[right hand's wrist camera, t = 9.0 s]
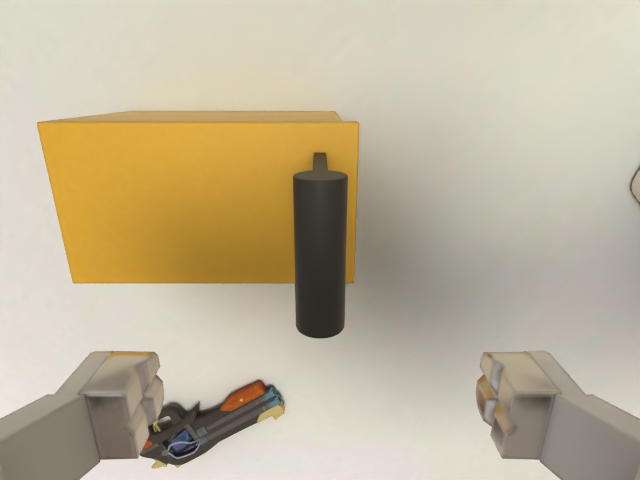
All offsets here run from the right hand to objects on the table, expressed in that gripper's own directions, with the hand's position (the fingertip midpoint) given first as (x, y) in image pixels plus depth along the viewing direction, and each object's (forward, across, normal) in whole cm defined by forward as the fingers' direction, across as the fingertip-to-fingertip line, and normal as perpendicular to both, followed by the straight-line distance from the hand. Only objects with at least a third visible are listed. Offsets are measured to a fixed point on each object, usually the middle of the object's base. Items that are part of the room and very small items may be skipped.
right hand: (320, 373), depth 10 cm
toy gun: (+27, +14, +25) cm, 40 cm away
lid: (+16, +7, 0) cm, 17 cm away
